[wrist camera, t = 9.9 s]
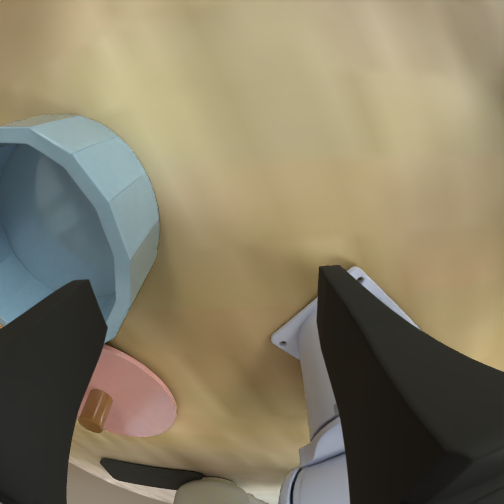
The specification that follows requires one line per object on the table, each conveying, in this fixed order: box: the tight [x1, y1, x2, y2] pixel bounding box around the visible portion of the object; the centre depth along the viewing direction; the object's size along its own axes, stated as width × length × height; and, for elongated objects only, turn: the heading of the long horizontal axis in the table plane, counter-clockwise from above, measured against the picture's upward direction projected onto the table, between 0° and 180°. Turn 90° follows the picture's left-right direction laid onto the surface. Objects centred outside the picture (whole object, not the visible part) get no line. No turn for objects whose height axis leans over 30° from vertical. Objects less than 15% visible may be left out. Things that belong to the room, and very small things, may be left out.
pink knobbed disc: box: [77, 344, 177, 437], centre depth 24 cm, size 15×15×5 cm
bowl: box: [0, 114, 160, 344], centre depth 16 cm, size 14×14×5 cm
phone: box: [100, 458, 203, 490], centre depth 36 cm, size 7×1×15 cm
